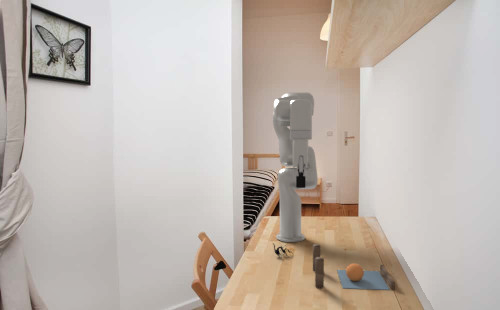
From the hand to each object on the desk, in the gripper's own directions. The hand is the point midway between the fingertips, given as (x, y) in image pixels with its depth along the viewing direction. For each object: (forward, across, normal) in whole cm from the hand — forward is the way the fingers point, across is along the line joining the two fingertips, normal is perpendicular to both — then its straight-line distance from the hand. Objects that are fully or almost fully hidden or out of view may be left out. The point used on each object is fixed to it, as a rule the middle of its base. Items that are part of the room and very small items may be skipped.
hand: (300, 187), depth 128 cm
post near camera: (+28, +17, +6) cm, 33 cm away
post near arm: (+28, +4, +5) cm, 29 cm away
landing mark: (+28, +10, +19) cm, 36 cm away
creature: (+29, -9, -6) cm, 31 cm away
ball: (+26, +11, +17) cm, 33 cm away
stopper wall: (+28, +10, +27) cm, 41 cm away
